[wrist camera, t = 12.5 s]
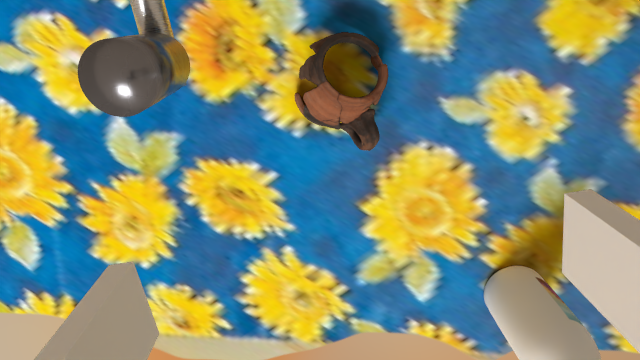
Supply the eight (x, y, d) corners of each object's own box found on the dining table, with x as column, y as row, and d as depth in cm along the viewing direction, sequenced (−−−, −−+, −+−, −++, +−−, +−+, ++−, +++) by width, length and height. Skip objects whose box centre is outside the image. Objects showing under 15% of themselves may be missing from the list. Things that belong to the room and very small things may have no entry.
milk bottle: (479, 315, 59) (557, 455, 40) (484, 264, 56) (571, 390, 38) (537, 312, 59) (642, 451, 40) (545, 261, 56) (662, 385, 38)
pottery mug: (271, 80, 48) (286, 50, 40) (339, 41, 51) (366, 5, 43) (332, 173, 49) (359, 161, 41) (396, 129, 52) (433, 110, 44)
